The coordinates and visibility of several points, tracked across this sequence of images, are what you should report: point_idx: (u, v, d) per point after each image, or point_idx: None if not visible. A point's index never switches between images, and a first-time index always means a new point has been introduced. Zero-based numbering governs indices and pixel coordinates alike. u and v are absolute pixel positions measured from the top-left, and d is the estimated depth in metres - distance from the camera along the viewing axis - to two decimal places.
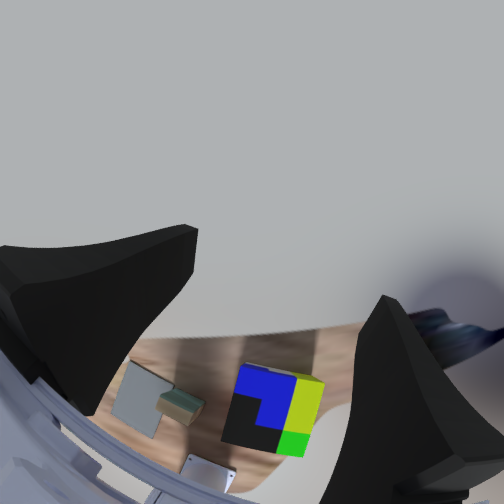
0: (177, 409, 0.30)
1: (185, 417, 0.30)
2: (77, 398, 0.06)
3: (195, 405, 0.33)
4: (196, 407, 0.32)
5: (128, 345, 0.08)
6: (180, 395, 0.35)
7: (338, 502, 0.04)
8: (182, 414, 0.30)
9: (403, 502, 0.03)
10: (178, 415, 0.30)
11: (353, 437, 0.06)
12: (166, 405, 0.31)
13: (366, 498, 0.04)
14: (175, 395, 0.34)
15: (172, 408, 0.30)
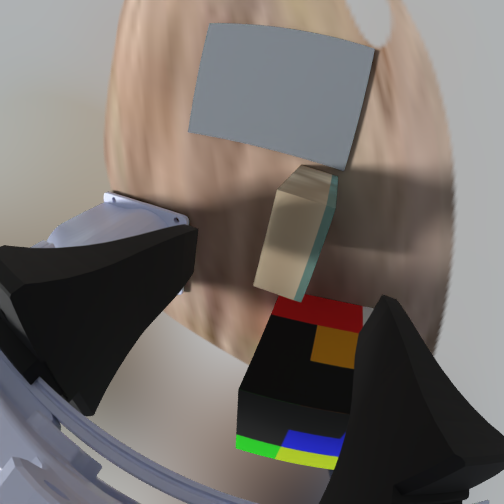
0: (296, 262, 0.12)
1: (277, 282, 0.13)
2: (77, 398, 0.06)
3: None
4: None
5: (128, 345, 0.08)
6: None
7: (338, 502, 0.04)
8: (284, 274, 0.13)
9: (403, 502, 0.03)
10: (278, 264, 0.13)
11: (353, 437, 0.06)
12: (301, 229, 0.11)
13: (366, 498, 0.04)
14: None
15: (296, 247, 0.12)
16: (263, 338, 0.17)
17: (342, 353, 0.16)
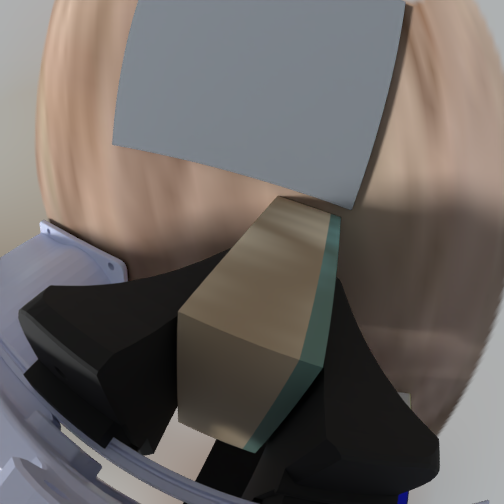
0: (239, 421, 0.06)
1: (212, 430, 0.06)
2: None
3: None
4: None
5: None
6: None
7: (255, 485, 0.05)
8: (221, 426, 0.06)
9: (296, 492, 0.03)
10: (208, 415, 0.06)
11: None
12: (242, 387, 0.05)
13: (268, 481, 0.04)
14: None
15: (235, 406, 0.05)
16: (217, 445, 0.10)
17: None
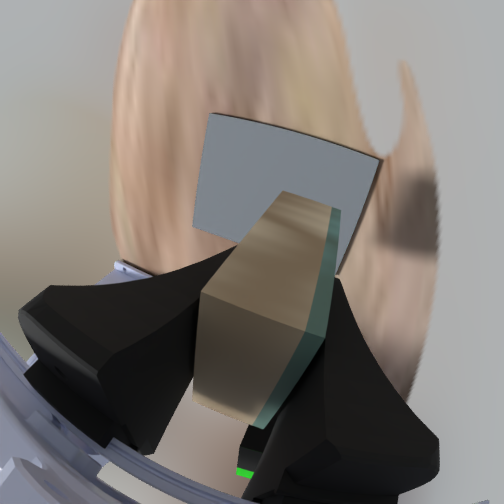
0: (250, 394, 0.06)
1: (224, 406, 0.07)
2: None
3: None
4: None
5: (190, 378, 0.07)
6: None
7: (255, 485, 0.05)
8: (233, 402, 0.07)
9: (296, 492, 0.03)
10: (221, 390, 0.07)
11: (280, 418, 0.06)
12: (254, 360, 0.06)
13: (268, 481, 0.04)
14: None
15: (247, 379, 0.06)
16: None
17: None
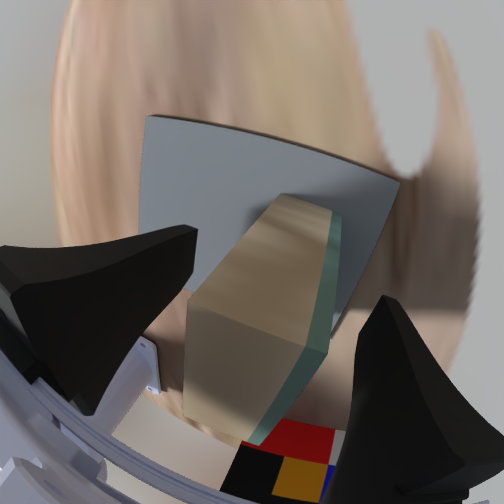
0: (244, 411, 0.06)
1: (217, 422, 0.07)
2: (77, 398, 0.06)
3: None
4: None
5: (128, 345, 0.08)
6: None
7: (338, 502, 0.04)
8: (226, 418, 0.06)
9: (403, 502, 0.03)
10: (213, 406, 0.06)
11: (353, 437, 0.06)
12: (248, 376, 0.05)
13: (366, 498, 0.04)
14: None
15: (241, 396, 0.05)
16: (230, 471, 0.14)
17: (303, 486, 0.13)
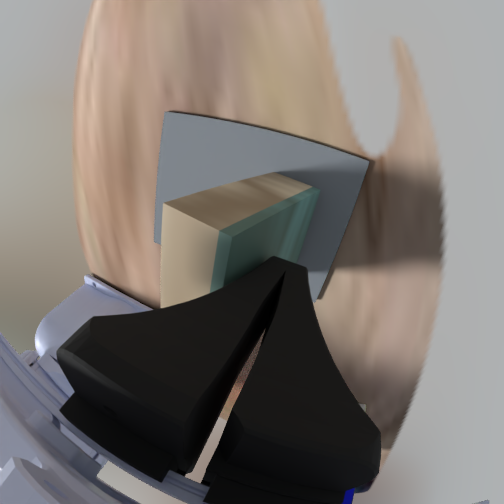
0: None
1: None
2: None
3: None
4: None
5: (228, 395, 0.07)
6: (284, 241, 0.11)
7: None
8: None
9: (227, 472, 0.03)
10: None
11: None
12: (193, 263, 0.08)
13: None
14: (273, 242, 0.10)
15: (191, 287, 0.08)
16: None
17: None
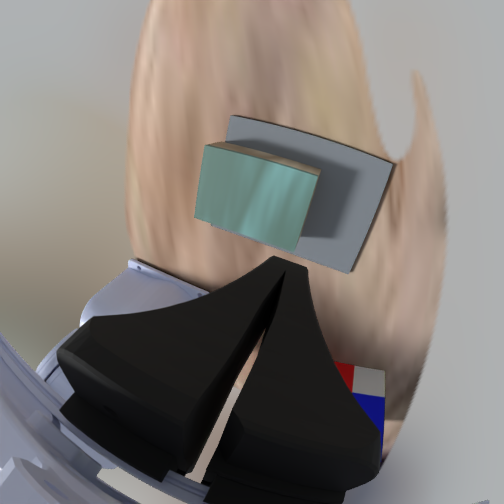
0: None
1: None
2: None
3: (232, 222, 0.17)
4: (221, 224, 0.18)
5: (228, 395, 0.07)
6: (260, 187, 0.16)
7: None
8: None
9: (227, 472, 0.03)
10: None
11: None
12: None
13: None
14: (244, 176, 0.16)
15: None
16: None
17: None
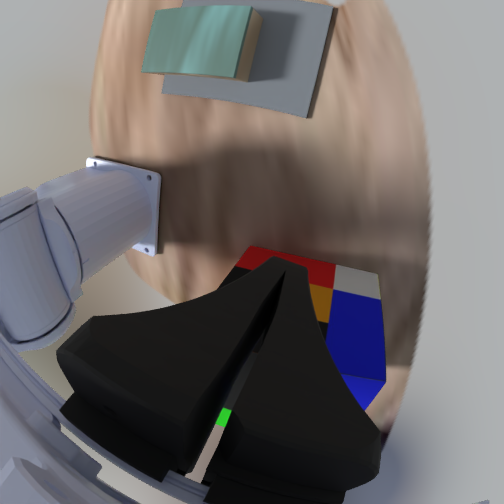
0: None
1: None
2: None
3: (173, 64, 0.14)
4: (164, 69, 0.14)
5: (228, 395, 0.07)
6: (200, 26, 0.12)
7: None
8: None
9: (227, 472, 0.03)
10: None
11: None
12: None
13: None
14: (186, 22, 0.12)
15: None
16: (222, 285, 0.16)
17: None
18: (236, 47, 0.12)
